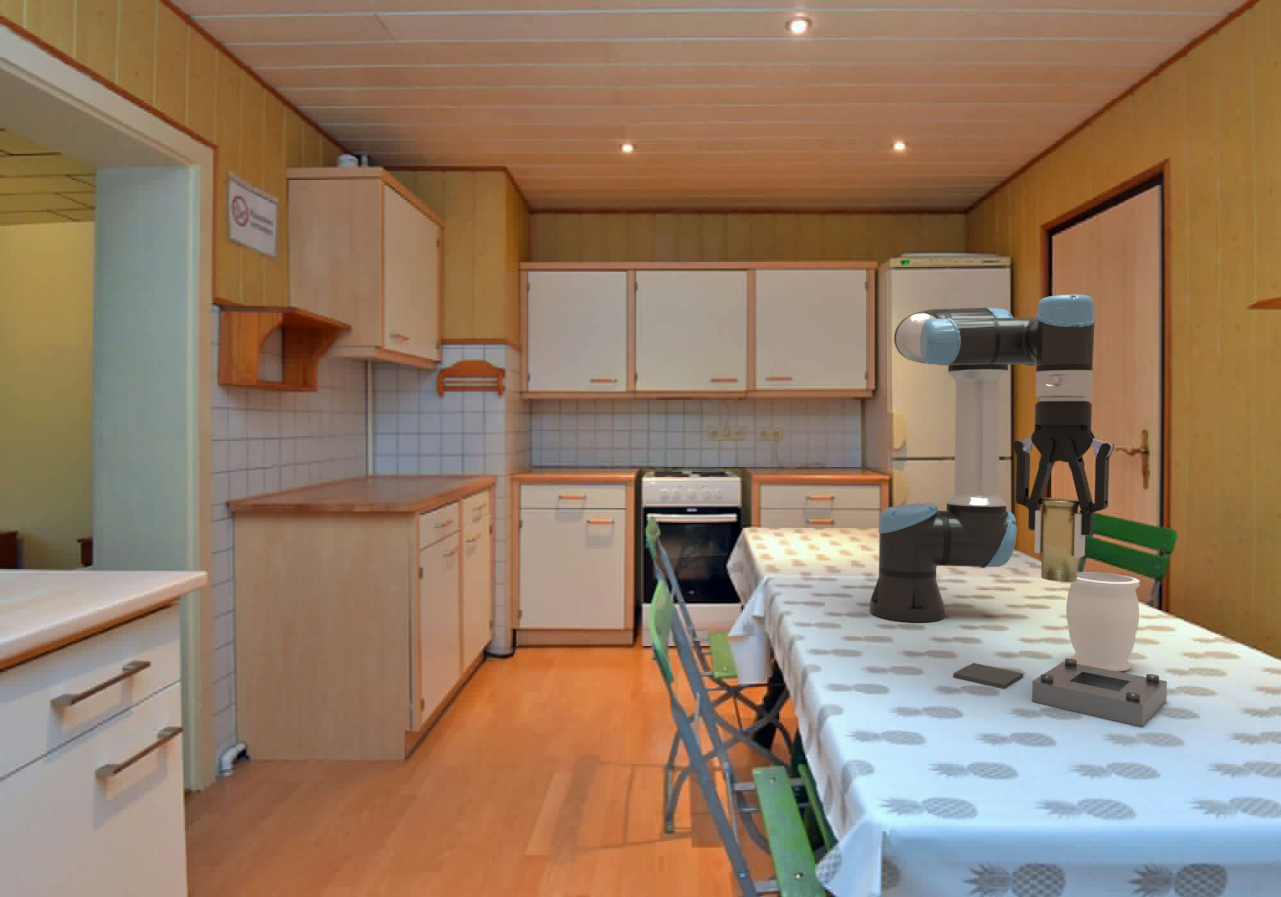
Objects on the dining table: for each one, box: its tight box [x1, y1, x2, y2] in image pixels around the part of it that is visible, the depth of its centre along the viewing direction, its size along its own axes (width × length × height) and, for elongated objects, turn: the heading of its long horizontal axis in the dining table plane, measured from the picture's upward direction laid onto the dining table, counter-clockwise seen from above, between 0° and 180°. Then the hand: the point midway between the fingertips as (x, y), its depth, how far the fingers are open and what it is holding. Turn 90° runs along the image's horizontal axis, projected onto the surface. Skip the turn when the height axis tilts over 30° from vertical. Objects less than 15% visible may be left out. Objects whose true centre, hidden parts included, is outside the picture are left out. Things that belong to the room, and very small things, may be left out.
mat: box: [952, 662, 1024, 690], centre depth 129 cm, size 8×8×1 cm
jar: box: [1065, 571, 1141, 672], centre depth 135 cm, size 11×10×15 cm
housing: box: [1031, 658, 1168, 728], centre depth 117 cm, size 14×14×4 cm
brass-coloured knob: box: [1040, 497, 1080, 583], centre depth 121 cm, size 5×5×12 cm
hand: (1059, 553), depth 121 cm, fingers closed on brass-coloured knob, 5 cm apart
